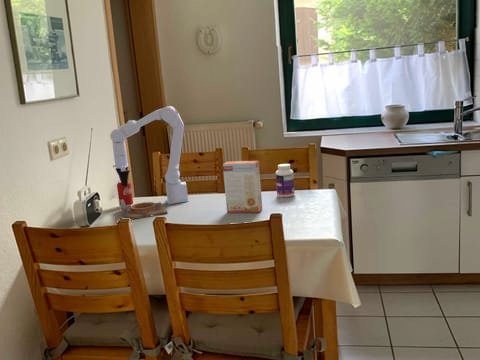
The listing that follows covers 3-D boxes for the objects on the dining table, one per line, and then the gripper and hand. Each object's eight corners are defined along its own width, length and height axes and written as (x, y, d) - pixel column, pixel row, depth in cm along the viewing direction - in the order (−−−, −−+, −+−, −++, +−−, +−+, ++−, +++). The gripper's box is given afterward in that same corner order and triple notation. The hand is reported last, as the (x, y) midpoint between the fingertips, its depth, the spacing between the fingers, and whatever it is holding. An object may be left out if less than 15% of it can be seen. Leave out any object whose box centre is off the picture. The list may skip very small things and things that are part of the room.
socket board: (160, 204, 233) (159, 193, 232) (167, 213, 217) (166, 202, 216) (121, 210, 228) (119, 199, 227) (125, 220, 212) (123, 209, 210)
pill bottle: (274, 195, 233) (272, 164, 230) (291, 192, 235) (289, 162, 232) (280, 199, 225) (278, 167, 222) (297, 196, 227) (295, 165, 224)
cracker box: (262, 209, 211) (259, 160, 207) (258, 213, 206) (254, 162, 202) (231, 208, 216) (227, 160, 212) (226, 212, 211) (222, 163, 206)
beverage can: (130, 207, 232) (126, 182, 230) (117, 208, 233) (114, 182, 231) (135, 204, 238) (132, 179, 236) (123, 204, 239) (119, 179, 237)
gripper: (110, 154, 236) (114, 182, 239) (112, 158, 223) (116, 188, 226) (125, 152, 238) (129, 180, 241) (128, 156, 225) (132, 186, 228)
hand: (124, 184), depth 234 cm, fingers open, 7 cm apart
